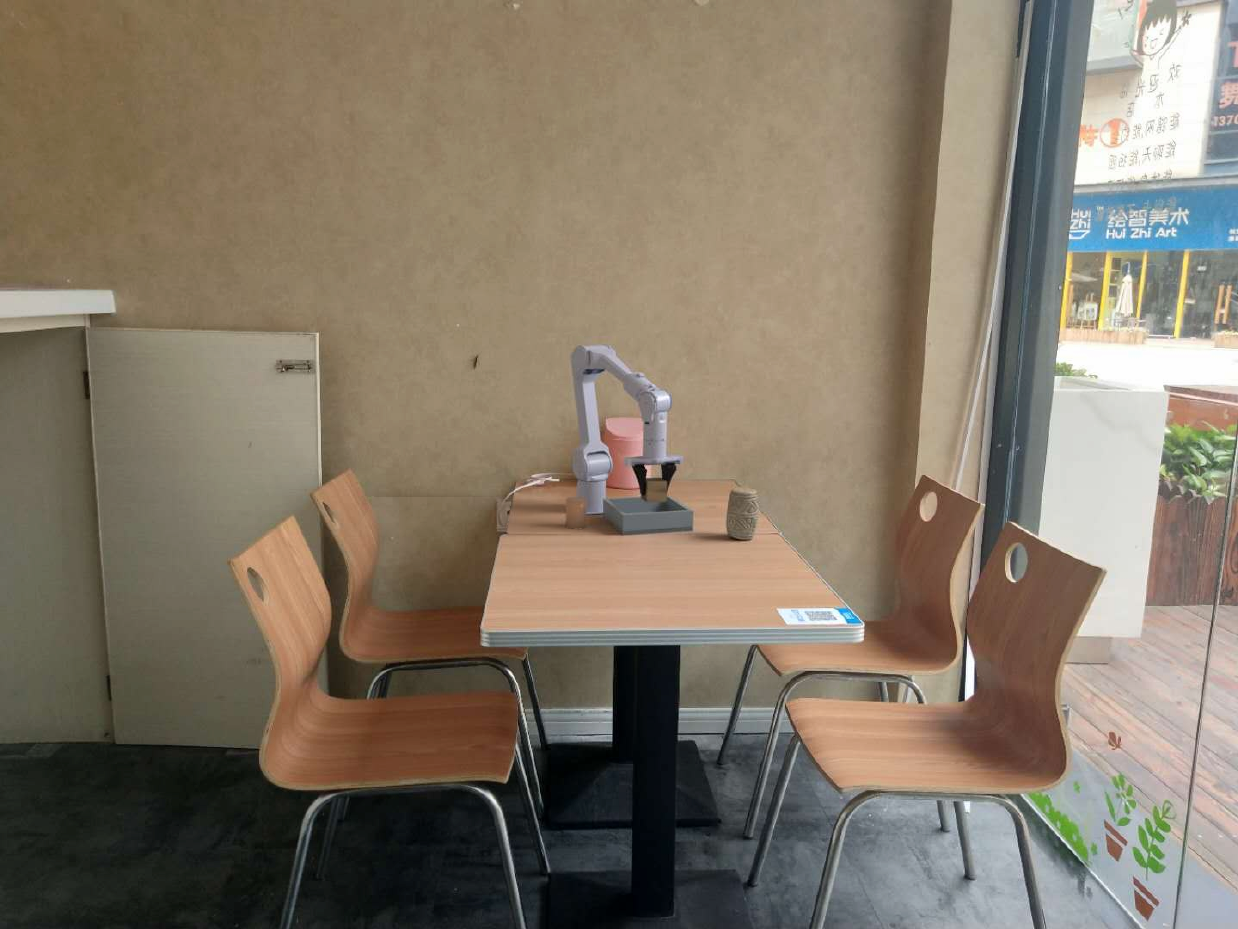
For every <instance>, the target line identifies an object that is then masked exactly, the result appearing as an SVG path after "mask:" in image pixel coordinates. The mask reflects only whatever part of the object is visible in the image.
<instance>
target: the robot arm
mask: <svg viewBox="0 0 1238 929" xmlns="http://www.w3.org/2000/svg"><path fill="white" fill-rule="evenodd" d="M570 363H571V372H572V373H571V374H572V381H573V382H572V383H573V390H574V392H573V393H574V400H575V408H576V416H577V424H578V433H579V440H580V441H579V444H578V446H577V447H576V448H575V449H574V450H573V451H572V456H573V457H572V458H573V459H572V472H573V474H574V476H575V477H576V480H577V484H576V497H583V498H586V516H587V515H603V499H606V498H607V479H608V478H609V475H610V474H611V473H612V471H613V468H614V467H613V466H614V462H613V458H612V457H611V454H610V449H609V446H608V445H606V444H605V443H604V442H603V441H602V440H601V432H600V424H599V423H600V422H599V414H598V407H597V404H598V403H597V398H596V397H597V396H596V389H595V381H596V380H597V379H598V377H600V376H601V375H602V374H603V373H604V372H608V373H609V374H611V375H612V376H613V377H614V378H616V379H617V380H618V381H620V382H621V383H622V387H623V391H624V392H626V393H627V394H628V395H629V396H630V397H631V398H632V399H634V400H635V401H636V402H637V403H638V408H639V411H640V414H641V419H642V421H643V422H642V424H643V425H642V427H643V428H642V430H643V431H642V455H639V456H631V457H625V458H624V466H625V467H626V468H628V467H629V468H630V467H631V468H632V472H633V473H634V475H635V478H636V480H637V484H638V487H639V494H640V496H641V495H645V493H646V478H647V473H648V469H647V468H646V466H660V469H661V470H660V471H661V478H662V479H664V480H665V481H667V492H668V491H669V487H670V483H671V481H672V479H673V476H674V475H675V473H676V471H677V465H684V456H683V455H681V454H679V455H676V454H675V455H673V454H672V455H671V454H667V433H668V432H667V429H668V412H670V411H671V409H672V407H673V397H672V394H671V393H670V391H669V390H667V388H658V387H657V386H656V384H654V383H652V382H650V380H648V379H647V377H645V374H644V373H643V372H638V371H637V372H632V371H631V369H630V368H628V366H627V365H625V364H624V362H623V361H622V360H621V359H620V358H619V357H618V356H617V354H616V350H615V349H614V348H612V347H611V346H610V345H609V344H597V345H595V344H594V345H593V344H591V345H582V344H581V345H577V346H576V347H575V348H574V349H573V351H572V353H571V354H570Z"/></svg>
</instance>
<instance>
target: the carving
mask: <svg viewBox="0 0 1238 929" xmlns="http://www.w3.org/2000/svg"><path fill="white" fill-rule="evenodd" d="M758 496H759V495H758V491H757V490H756V489H753V488H750V487H745V486H744V487H743V486H742V487H739V486H738V487H737V486H736V487H734V488H731V491H730V492H729V497H728V502H727V511H726V518H725V528H726V533H727V535H729V536H730V537H732V538H734V539H737V540H741V541H742V540H743V541H749V540H752V539H753V538H754V536H755V532H756V528H757V525H758V517H759V504H758V502H759V501H758V500H759V497H758Z"/></svg>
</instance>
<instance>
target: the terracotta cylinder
mask: <svg viewBox="0 0 1238 929" xmlns="http://www.w3.org/2000/svg"><path fill="white" fill-rule="evenodd" d="M586 526H587V515H586V498H583V497H577V496H570V497H566V498H565V527H566V529H570V528H582V529H585V528H586Z"/></svg>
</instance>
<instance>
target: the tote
mask: <svg viewBox="0 0 1238 929" xmlns="http://www.w3.org/2000/svg"><path fill="white" fill-rule="evenodd" d="M602 518H603V519H604V520H605V521H606V522H607V523H609V525H611V526H612V527H613V528H614V529H615V528H616V530H617V532H619V534H621V535H622V536H632V535H633V534H636V535H647V534H661V533H676V532H677V533H678V532H689V531H691V532H692V531H694V510H692V509H691V508H690V507H688V506H686V505H685V504H683V503H682V502H680V501H678V499H676V498H674V497H672V496H671V495H669V494H667V502H650V503H647V502H646V501H644V500H643V499H641V496H628V497H627V496H626V497H625V496H624V497H611V498H607V497H606V499H603V514H602Z"/></svg>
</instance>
